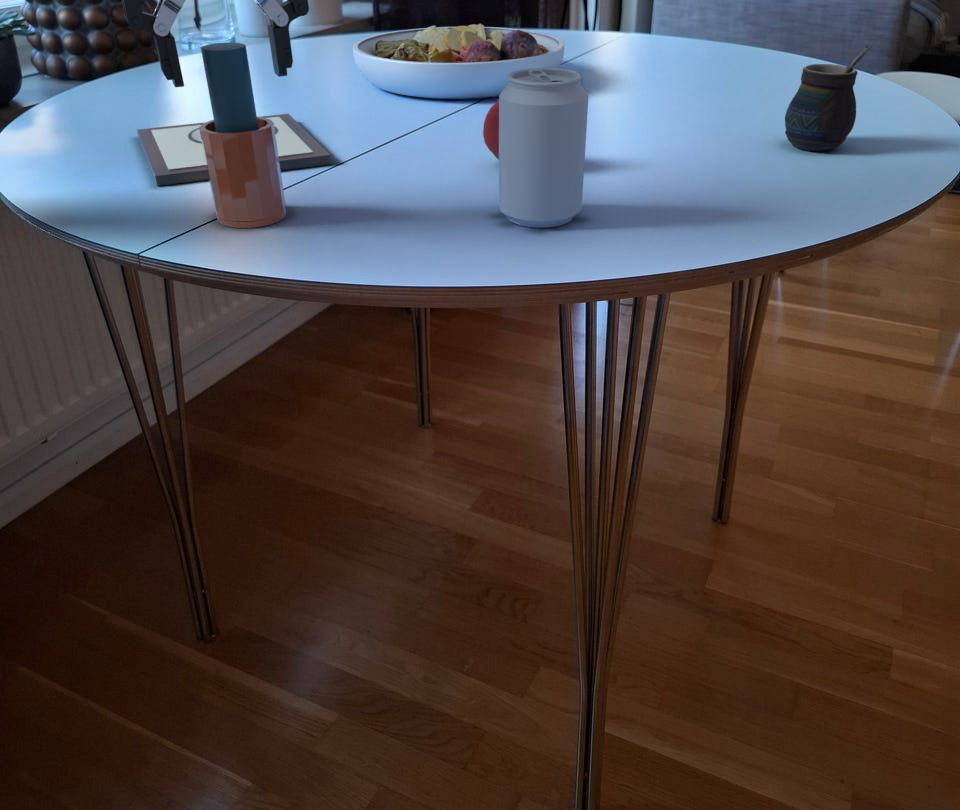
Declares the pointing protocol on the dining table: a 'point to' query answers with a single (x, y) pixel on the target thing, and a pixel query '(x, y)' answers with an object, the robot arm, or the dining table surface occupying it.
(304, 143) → the picture frame
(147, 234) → the dining table surface
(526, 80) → the can
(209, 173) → the pen cup
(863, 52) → the mate gourd
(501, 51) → the bowl
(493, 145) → the onion
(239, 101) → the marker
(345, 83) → the dining table surface
